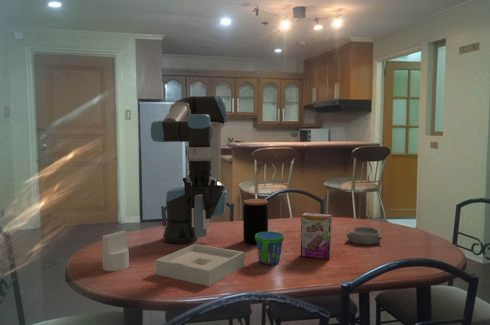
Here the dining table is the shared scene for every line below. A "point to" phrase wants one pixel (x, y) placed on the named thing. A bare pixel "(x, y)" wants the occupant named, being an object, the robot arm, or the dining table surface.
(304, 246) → the candy bar box
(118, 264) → the white stepped block
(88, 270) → the dining table surface
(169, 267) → the beige square tray
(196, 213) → the peg
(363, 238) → the dish
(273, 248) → the snack cup
